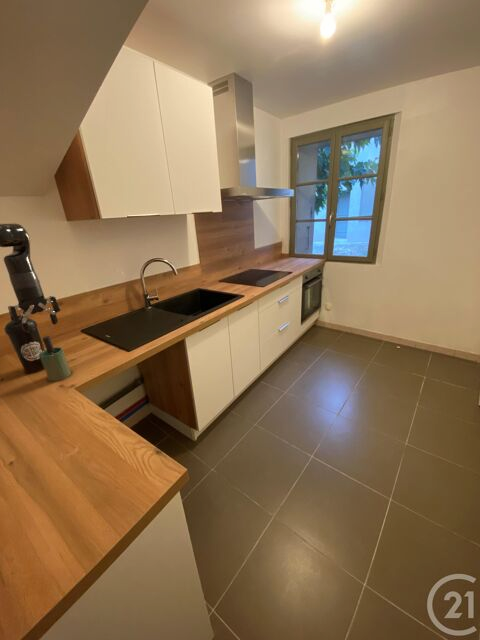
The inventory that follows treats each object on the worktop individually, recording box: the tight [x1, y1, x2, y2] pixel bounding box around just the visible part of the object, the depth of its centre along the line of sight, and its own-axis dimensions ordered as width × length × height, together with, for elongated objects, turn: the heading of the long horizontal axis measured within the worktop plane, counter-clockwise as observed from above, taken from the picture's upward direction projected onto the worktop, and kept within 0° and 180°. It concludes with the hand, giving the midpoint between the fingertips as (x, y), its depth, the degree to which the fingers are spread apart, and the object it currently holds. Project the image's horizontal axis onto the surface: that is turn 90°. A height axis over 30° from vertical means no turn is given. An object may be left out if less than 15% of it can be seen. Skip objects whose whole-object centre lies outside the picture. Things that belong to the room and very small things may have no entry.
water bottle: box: [3, 314, 45, 374], centre depth 107 cm, size 10×10×23 cm
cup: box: [39, 346, 72, 382], centre depth 102 cm, size 8×8×11 cm
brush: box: [42, 335, 55, 355], centre depth 101 cm, size 3×3×16 cm
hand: (42, 328), depth 96 cm, fingers open, 8 cm apart
